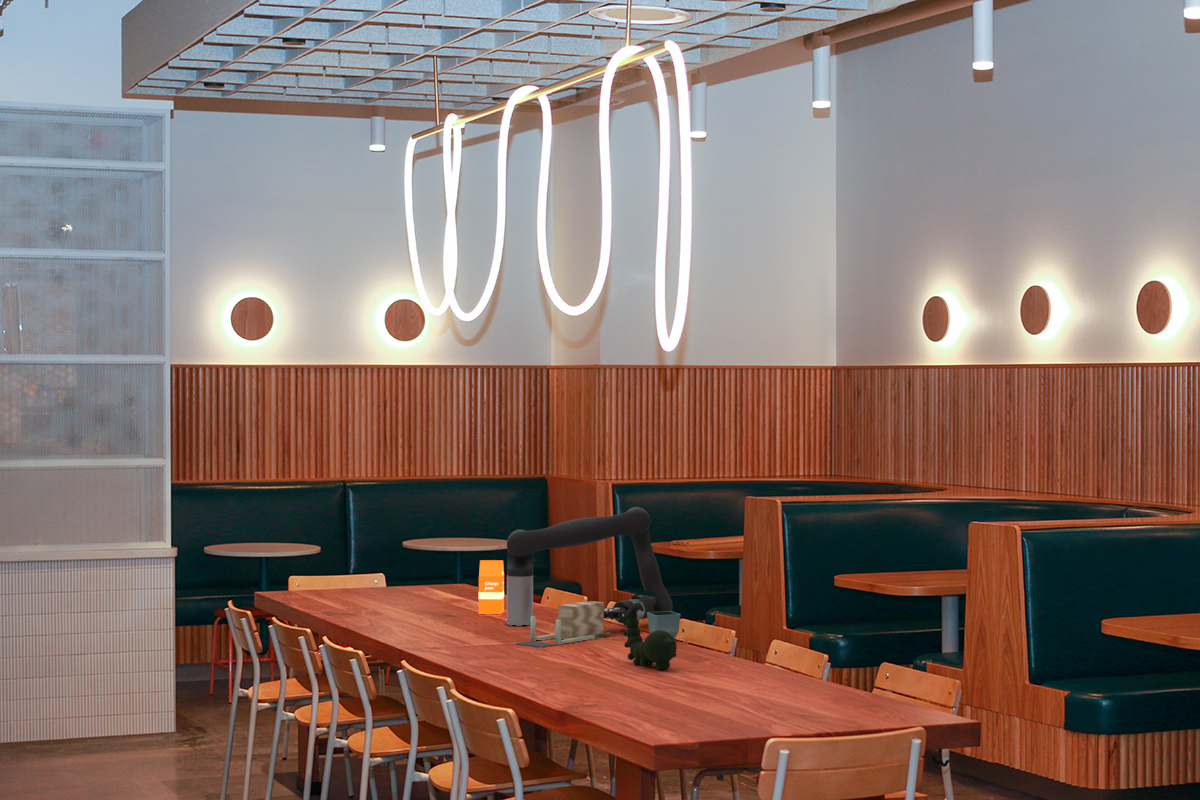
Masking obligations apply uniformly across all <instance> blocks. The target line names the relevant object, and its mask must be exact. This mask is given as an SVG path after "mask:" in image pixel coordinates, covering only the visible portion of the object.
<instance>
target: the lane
mask: <svg viewBox="0 0 1200 800" xmlns="http://www.w3.org/2000/svg"><path fill="white" fill-rule="evenodd" d="M594 635H595V638H598V639H600V638H599V637H604V638H606V637H605V636H610V637H613V631H612V632H611V631H607V632H603V633H600V634H594Z"/></svg>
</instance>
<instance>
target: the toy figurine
mask: <svg viewBox="0 0 1200 800" xmlns="http://www.w3.org/2000/svg"><path fill="white" fill-rule="evenodd" d="M639 610H641V611H642V612H643V611H644V608H643V606H642V604H641V603H634V604H633V605H632V606H631V609H630V610H628V611H627V612H626V613H624V616H625V617H626V618H627V620H626V621H624V622H623V623H622V624H623V626H624V627H626V631H623V633H622V635H623V636H625V637H627V640H626V641H625V642H624V648H625V649H626V648H627V649H628V648H629V653H628V654H627V659H628V660H629V661H632V662H633V664H634V665H635V666H639V665H641V666H643V667H647V666H648V665H652V664H655V668H656V669H657V670H659V671H666V670H668V669H669V668H670V666H671V662H670V661H671V660H672V659H674V658H676V657H677V648H678V645H677V643H676V642H677V641H676V638H675V639H674V638H673V636H672V635H671V634H670V633H668V632H666V631H663V630H657V631H654V632H652V633H651V632H650V633H649V634H648V635H647V636H646V638H645V639H644V641H643V638H642V636H641V629H640V627H639V625H640V622H639V621H640V620H638V619H637V612H638V611H639Z"/></svg>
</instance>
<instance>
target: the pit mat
mask: <svg viewBox="0 0 1200 800" xmlns="http://www.w3.org/2000/svg"><path fill="white" fill-rule="evenodd" d="M517 644H518V646H524V645H526V646H525V647H531V646H534V648H539V647H543V648H547V647H546V646H549V647H553V646H552V645H555V646H557V645H556V643H551V642H550V643H549V642H542V641H531V640H528V641H522V642H516V643H515V645H517Z"/></svg>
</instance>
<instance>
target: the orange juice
mask: <svg viewBox="0 0 1200 800" xmlns="http://www.w3.org/2000/svg"><path fill="white" fill-rule="evenodd" d="M504 569H505V567H504V560H498V559H497V560H496V559H493V560H492V559H491V560H490V559H489V560H487V559H485V560H483V559H482V560H479V573H478V574H479V575H478V615H479V614H502V613H503V612H504V613H505V572H504V571H505V570H504ZM504 613H503V614H504Z"/></svg>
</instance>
